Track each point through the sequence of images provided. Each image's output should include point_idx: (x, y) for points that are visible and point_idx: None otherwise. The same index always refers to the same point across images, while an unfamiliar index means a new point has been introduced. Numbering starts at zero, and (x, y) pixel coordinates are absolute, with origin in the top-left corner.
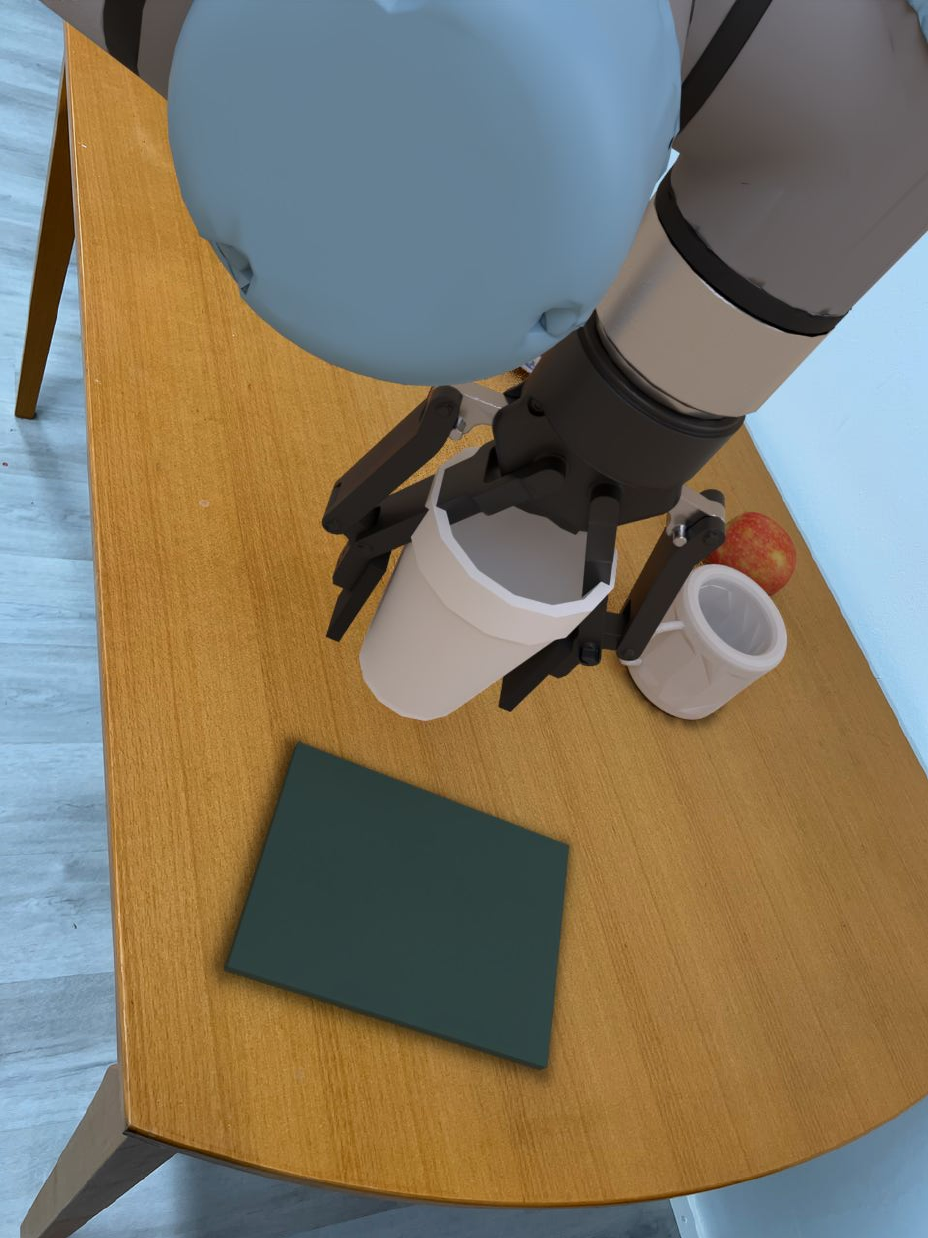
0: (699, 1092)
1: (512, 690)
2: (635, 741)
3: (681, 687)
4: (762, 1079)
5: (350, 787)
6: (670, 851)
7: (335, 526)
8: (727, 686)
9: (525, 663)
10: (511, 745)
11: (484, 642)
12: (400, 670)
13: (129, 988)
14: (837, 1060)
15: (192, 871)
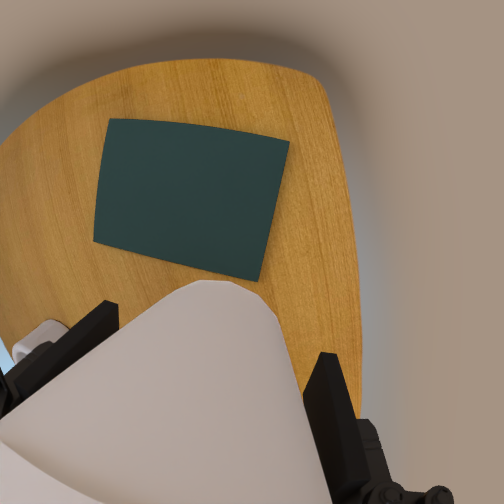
0: (48, 132)
1: (100, 324)
2: (70, 306)
3: (52, 335)
4: (26, 147)
5: (222, 257)
6: (50, 248)
7: (442, 500)
8: (31, 336)
9: None
10: (128, 298)
11: (125, 450)
12: (262, 333)
13: (336, 133)
14: (4, 165)
15: (312, 195)
